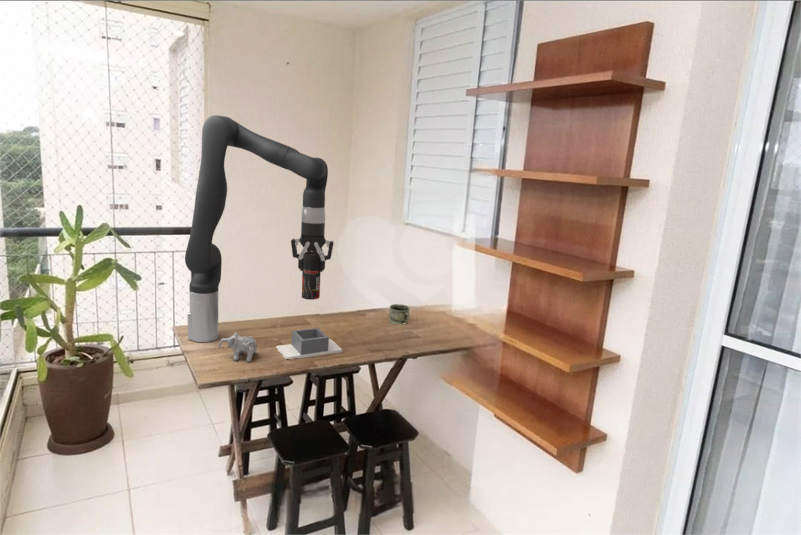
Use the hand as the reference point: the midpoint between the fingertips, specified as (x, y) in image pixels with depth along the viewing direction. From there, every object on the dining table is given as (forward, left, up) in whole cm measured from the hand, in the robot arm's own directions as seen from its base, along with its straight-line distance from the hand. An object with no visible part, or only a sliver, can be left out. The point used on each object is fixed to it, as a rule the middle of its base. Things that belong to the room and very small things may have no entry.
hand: (311, 270), depth 167 cm
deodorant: (0, 0, -9) cm, 9 cm away
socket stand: (+1, -1, -28) cm, 28 cm away
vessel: (+34, +34, -28) cm, 56 cm away
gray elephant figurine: (-21, -9, -28) cm, 37 cm away
